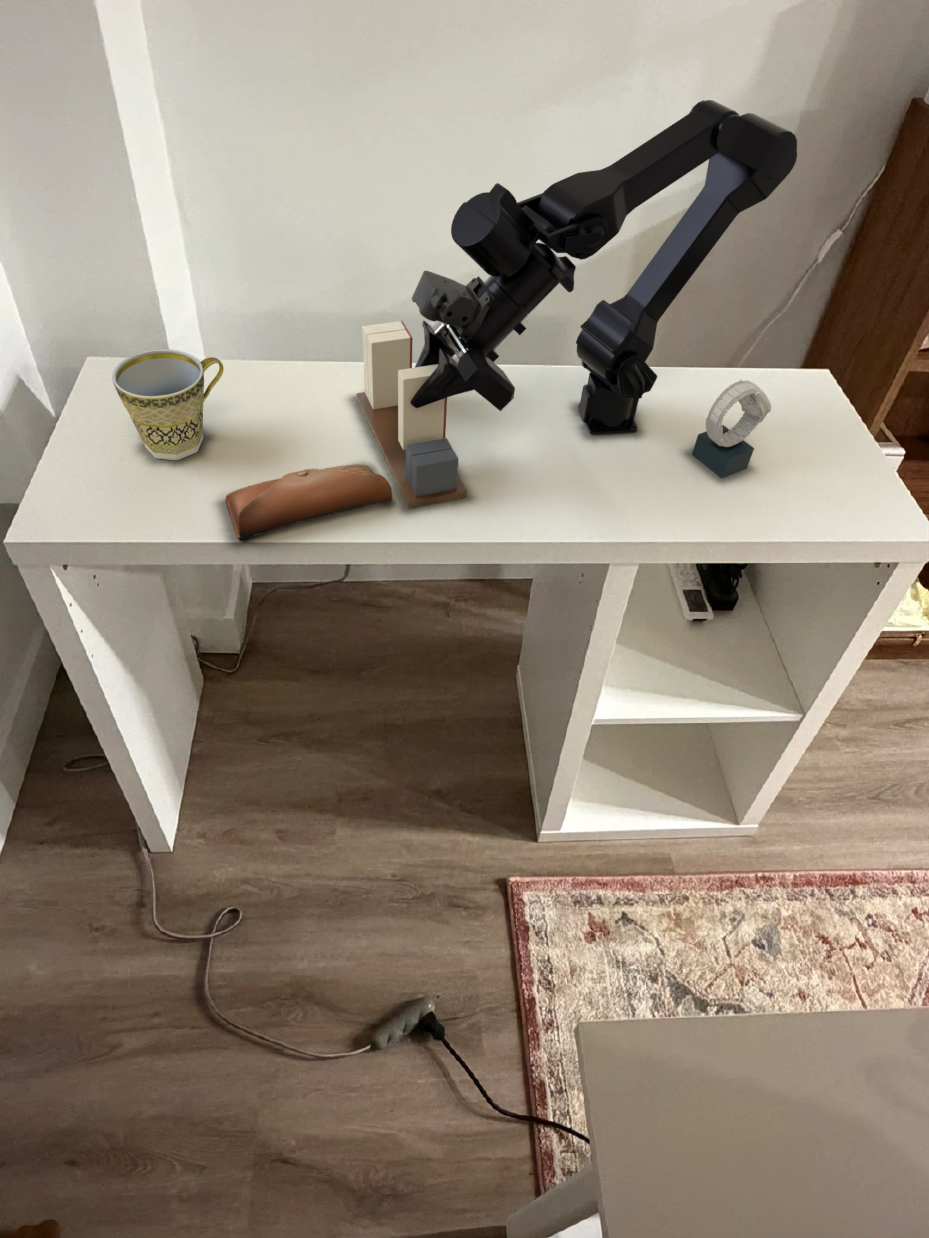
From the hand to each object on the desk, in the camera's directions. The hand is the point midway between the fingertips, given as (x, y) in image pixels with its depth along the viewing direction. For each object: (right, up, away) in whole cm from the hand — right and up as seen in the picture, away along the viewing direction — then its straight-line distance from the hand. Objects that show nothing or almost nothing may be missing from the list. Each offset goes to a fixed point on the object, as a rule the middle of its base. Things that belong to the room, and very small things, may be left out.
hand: (409, 399), depth 97 cm
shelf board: (-1, -3, +11) cm, 11 cm away
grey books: (+2, -9, +5) cm, 11 cm away
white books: (-4, +4, +16) cm, 17 cm away
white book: (+1, -4, +5) cm, 6 cm away
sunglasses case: (-12, -12, +3) cm, 17 cm away
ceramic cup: (-28, -3, +9) cm, 30 cm away
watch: (+39, -5, +13) cm, 41 cm away
